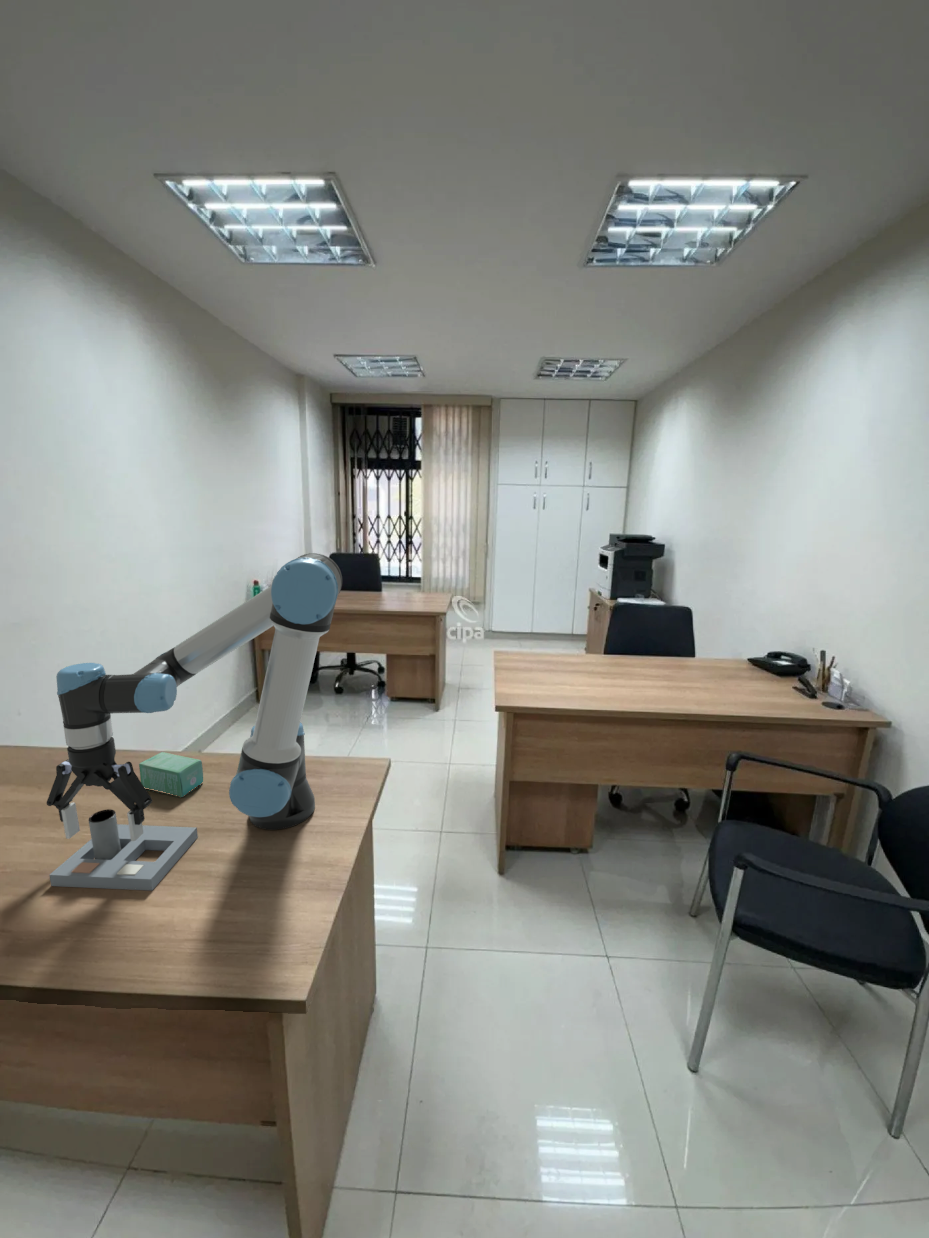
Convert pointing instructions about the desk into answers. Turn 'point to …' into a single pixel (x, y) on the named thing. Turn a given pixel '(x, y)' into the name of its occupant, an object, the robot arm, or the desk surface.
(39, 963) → the desk surface
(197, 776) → the box
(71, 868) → the socket board
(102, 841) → the grey hollow cylinder
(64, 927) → the desk surface
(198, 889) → the desk surface
